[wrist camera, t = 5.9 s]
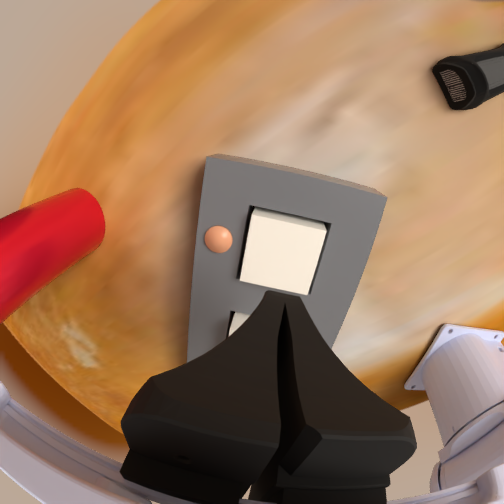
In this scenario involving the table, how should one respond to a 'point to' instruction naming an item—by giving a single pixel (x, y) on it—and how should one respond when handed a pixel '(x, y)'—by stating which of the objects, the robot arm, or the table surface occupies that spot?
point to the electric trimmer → (471, 78)
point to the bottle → (45, 244)
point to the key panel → (235, 235)
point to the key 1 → (282, 250)
